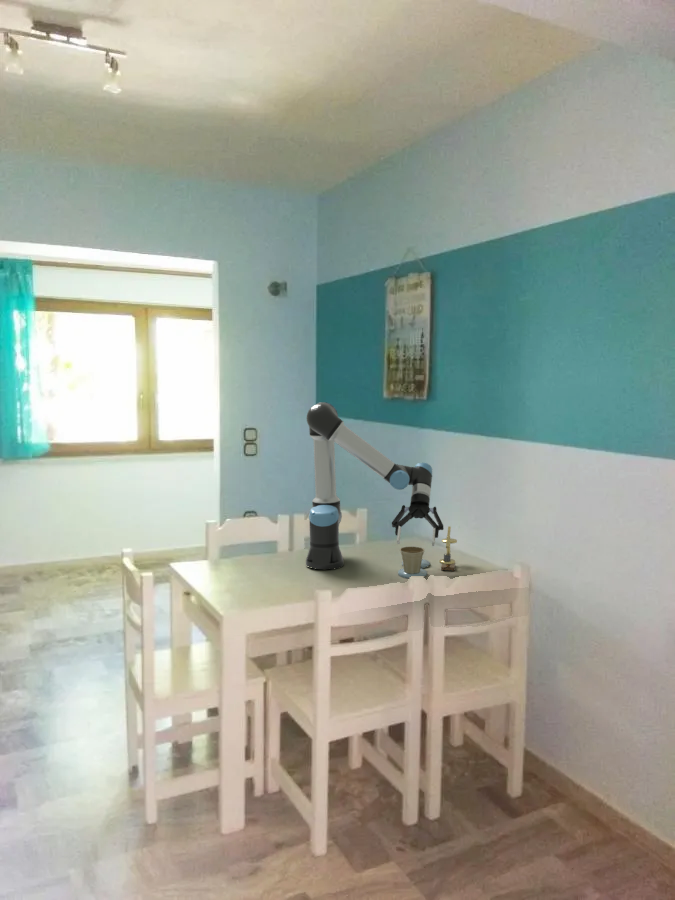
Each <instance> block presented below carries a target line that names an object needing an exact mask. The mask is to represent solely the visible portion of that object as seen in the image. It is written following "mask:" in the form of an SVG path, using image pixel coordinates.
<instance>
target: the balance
mask: <svg viewBox="0 0 675 900" xmlns="http://www.w3.org/2000/svg"><path fill="white" fill-rule="evenodd" d="M451 528H452V526H451V525H450V526H447V535H446V538H442V539H441V543H443V544H445V548H446V553H444V554H443V558H440V559H439V564H441V566H440V567H441V569H440V570H452V571H451V572H455V570H454V569H455V568H456V560H455V559H452V558H451V556H452V555H451V544H457V543H458V540H457V539H456V538H451Z"/></svg>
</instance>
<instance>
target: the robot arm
mask: <svg viewBox="0 0 675 900" xmlns="http://www.w3.org/2000/svg"><path fill="white" fill-rule="evenodd" d="M306 413H307V414H306V422H307V425H308V427H309V431H308V432H309V437H310V438H311V439H312V441H313V458H314V459H313V461H314V462H313V463H314V482H315V483H314V484H315V485H314V488H315V489H314V490H315V497H314V498H313V499H312V500H311V502H312V504H311V505H312V507H311V508H310V509H309V515H308V519H309V549H308V552H307V555H306V559H305V566H306V565H307V566H309V567H312V568H316V569H333V570H335V569H334V568H337V569H340V568H342V567H343V566H344V557H343V554H342V551H341V549H340V543H339V542H340V539H339V538H340V535H339V534H340V533H339V532H340V531H339V530H340V529H339V527H340V524H341V522H342V517H343V515H342V511H341V500H340V498H339V497H338V496H337V481H336V479H337V478H336V458H335V455H336V453H335V452H336V451H335V444H337V445H339V446H340V447H341V448H343V450H345V451H346V452H347V453H349V454H350V455H351V456H353V457H355V459H357V460H358V461H360V462H361V463H362V464H364V465H365V466H367V468H369V469H370V470H372V471H373V472H374V473H376V474H377V475H378V476H380V477H381V478H382V479H384V480H385V481H386V482H387V483H389V484H390V486H391V487H392V488H394V489H395V490H398V491H399V490H400V491H401V490H405V489H406V488H407V487H408V485H409V486H411V487H412V488H411V497H410V504H409V506H406V505H405V504H403V505H401V509H400V510H399V512H398V513H397V514H396V516H395V517H394V519H393V520H392V521H391V527H392V528H395V531H394V533H395V536H396V543H397V545H400V541H401V534H402V527H403V526H404V525H405V524H406V523H408V522H409V521H410V520H412V519H413V518H414V519H425V520H426V521H427V522H428V523H429V525H430V526H431V527H432V528H433V529H432V539H431V544H432V545H431V546H432V547H435V545H436V538H438V537H439V531H443V530H444V524H443V522H442V520H441V518H440V516H439V514H438V511H437V506H433V507H430V500H431V499H430V498H431V491H432V490H431V489H432V481H433V467H432V466H431V465H430V464H429V463H427V462H418V463H416V464H415V465H414V466H409V465H408V466H407V465H403V464H398V463H395V462H393V461H392V460H391V459H390V458H388V457H387V456H385V454H383V453H382V452H381V451H379V450H378V449H376V448H375V447H374V446H373V445H371V444H370V443H368V442H367V441H366V440H365V439H364V438H362V437H361V436H359V435H358V434H356V433H355V432H354V431H353V430H351V429H350V428H349V427H347V425H345V423H344V420H343V419H341V418H340V417H339V414H338V410H337V408H336V407H335V406H334V405H333V404H331V403H329V402H325V401H322V402H317V403H315V404H314V405H312V406H311V407H310V408H309V409H308V412H306ZM407 511H408V513H407ZM405 513H407V514H406V515H405ZM429 513H431V514H432V515H433V516H434V518H435V520H436V522H435V520H434V519H433V518H432V517H431V516H430V515H429ZM307 566H306V567H307ZM341 566H342V567H341ZM339 567H340V568H339Z"/></svg>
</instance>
